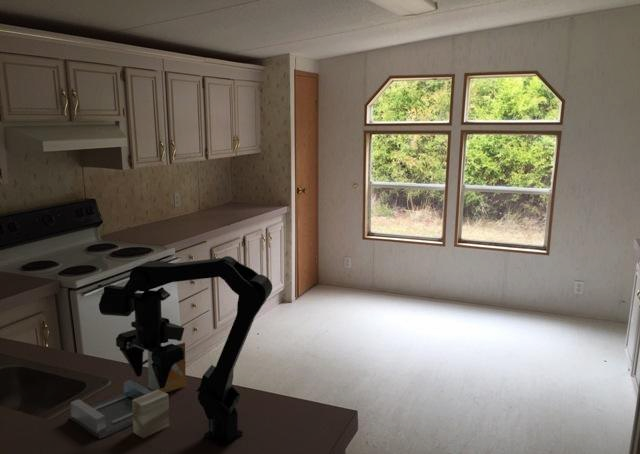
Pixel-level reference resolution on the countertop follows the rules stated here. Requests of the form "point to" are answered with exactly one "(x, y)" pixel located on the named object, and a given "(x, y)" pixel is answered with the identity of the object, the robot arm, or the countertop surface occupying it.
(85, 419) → the vise bed
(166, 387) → the small box
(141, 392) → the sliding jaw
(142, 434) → the ash block
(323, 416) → the countertop surface
